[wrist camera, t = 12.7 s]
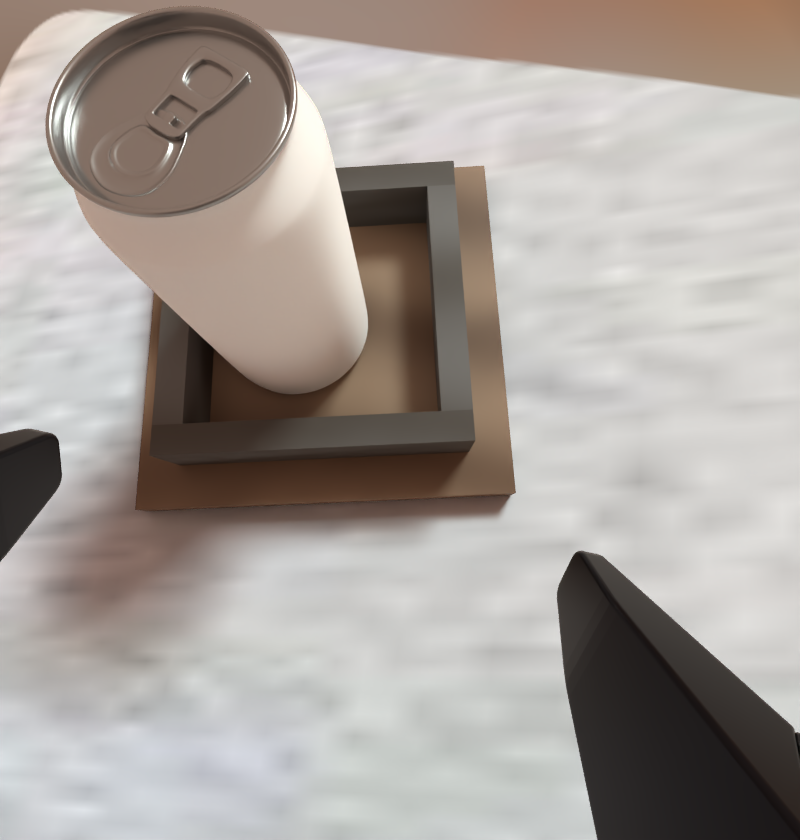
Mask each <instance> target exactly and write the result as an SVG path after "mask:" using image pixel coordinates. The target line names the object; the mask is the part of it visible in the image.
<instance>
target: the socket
mask: <svg viewBox="0 0 800 840" xmlns="http://www.w3.org/2000/svg"><path fill="white" fill-rule="evenodd" d="M335 169H336V174H337V178H338V182H339V186H340V191H341V195H342V200H343V204H344V208H345V213H346V217H347V222H348V226H349V230H350V235H351V239H352V244H353V248H354V253H355V257H356V262H357V266H358V271H359V275H360V280H361V284H362V289H363V294H364V298H365V303H366V309H367V315H368V332H367V337H366V341H365V344H364V347H363V350H362V352H361V354H360V356H359V357H358V359H357V361H356V362H355V363H354V365H353V366H352V367H351V368H350V369H349V370H348V371H347V372H346V373H345V374H344V375H343V376H342V377H341V378H339V379H338V380H337V381H335V382H334V383H332V384H330V385H328V386H326V387H324V388H322V389H319V390H316V391H313V392H309V393H303V394H282V393H277V392H273V391H270V390H268V389H265V388H263V387H261V386H259V385H257V384H255V383H253V382H252V381H250V380H249V379H247V378H246V377H245V376H244V375H242V374H241V373H240V372H239V371H238V370H237V369H236V368H235V367H233V366H232V365H231V364H230V363H229V362H228V361H227V360H226V359H225V358H224V357H223V356H222V355H220V354H219V353H218V352H217V351H216V350H215V349H214V348H213V347H212V346H211V345H210V344H209V343H208V342H207V341H205V340H204V339H203V338H202V337H201V336H200V335H199V334H198V333H197V332H196V331H195V330H194V329H193V328H192V327H191V326H190V325H188V324H187V323H186V322H185V321H184V320H183V319H182V318H181V317H180V316H179V315H178V314H177V313H176V312H175V311H174V310H173V309H172V308H170V307H169V306H168V305H167V304H166V303H165V302H164V301H163V300H162V299H161V298H160V297H159V296H158V295H157V294H156V293H155V292H154V300H153V312H152V323H151V335H150V346H149V358H148V369H147V381H146V392H145V404H144V415H143V427H142V438H141V450H140V461H139V473H138V484H137V496H136V507H135V510H143V511H160V510H183V509H206V508H228V507H251V506H273V505H296V504H319V503H341V502H364V501H387V500H409V499H432V498H455V497H477V496H500V495H512V494H514V493H516V491H515V481H514V470H513V460H512V450H511V439H510V429H509V419H508V408H507V398H506V388H505V377H504V367H503V356H502V346H501V336H500V325H499V315H498V305H497V294H496V284H495V274H494V263H493V253H492V242H491V232H490V222H489V211H488V201H487V191H486V180H485V170H484V166H473V167H456V168H454V162H453V161H443V162H427V163H411V164H395V165H378V166H362V167H346V168H335Z"/></svg>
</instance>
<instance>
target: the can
mask: <svg viewBox="0 0 800 840" xmlns="http://www.w3.org/2000/svg"><path fill="white" fill-rule="evenodd" d="M46 138H47V143H48V147H49V151H50V154H51V156H52V159H53V161H54V163H55V165H56V167H57V169H58V170H59V172H60V173H61V175H62V176H63V177H64V178H65V180H66V181H67V182H68V183H69V184H70V185H71V186H72V187H73V188H74V191H75V194H76V197H77V200H78V203H79V205H80V208H81V210H82V212H83V214H84V216H85V218H86V220H87V222H88V223H89V225H90V226H91V228H92V229H93V230H94V232H95V233H96V234H97V235H98V236H99V238H100V239H101V240H102V241H103V242H104V243H105V244H106V246H107V247H108V248H109V249H110V250H111V251H112V252H113V253H114V254H115V255H116V256H117V257H118V258H119V259H120V260H121V261H122V262H123V263H124V264H125V265H126V266H128V267H129V268H130V269H131V270H132V271H133V272H134V273H135V274H136V275H137V276H138V277H139V278H140V279H141V280H142V281H143V282H144V283H145V284H146V285H147V286H148V287H149V288H150V289H152V290H153V291H154V292H155V293H156V294H157V295H158V296H159V297H160V298H161V299H162V300H163V301H164V302H165V303H166V304H167V305H168V306H169V307H170V308H172V309H173V310H174V311H175V312H176V313H177V314H178V315H179V316H180V317H181V318H182V319H183V320H184V321H185V322H186V323H187V324H188V325H190V326H191V327H192V328H193V329H194V330H195V331H196V332H197V333H198V334H199V335H200V336H201V337H202V338H203V339H204V340H205V341H207V342H208V343H209V344H210V345H211V346H212V347H213V348H214V349H215V350H216V351H217V352H218V353H219V354H220V355H222V356H223V357H224V358H225V359H226V360H227V361H228V362H229V363H230V364H231V365H232V366H233V367H235V368H236V369H237V370H238V371H239V372H240V373H241V374H242V375H244V376H245V377H246V378H247V379H249V380H250V381H252V382H253V383H255V384H257V385H259V386H261V387H263V388H265V389H268V390H270V391H273V392H277V393H282V394H303V393H309V392H313V391H316V390H319V389H322V388H324V387H326V386H328V385H330V384H332V383H334V382H335V381H337V380H338V379H339V378H341V377H342V376H343V375H344V374H345V373H346V372H347V371H348V370H349V369H350V368H351V367H352V366H353V365H354V363H355V362H356V361H357V359H358V357H359V356H360V354H361V352H362V350H363V347H364V344H365V341H366V337H367V332H368V315H367V309H366V303H365V298H364V294H363V289H362V284H361V280H360V275H359V271H358V266H357V262H356V257H355V253H354V248H353V244H352V239H351V235H350V230H349V226H348V222H347V217H346V213H345V208H344V204H343V200H342V195H341V191H340V186H339V182H338V178H337V174H336V169H335V165H334V161H333V157H332V153H331V149H330V145H329V141H328V137H327V134H326V130H325V127H324V125H323V122H322V119H321V117H320V114H319V112H318V110H317V108H316V106H315V104H314V103H313V101H312V100H311V98H310V97H309V95H308V94H307V93H306V91H305V90H304V89H303V88H302V86H301V85H300V84H299V83H298V82H297V81H296V79H295V75H294V71H293V68H292V66H291V63H290V61H289V59H288V57H287V55H286V54H285V52H284V51H283V49H282V48H281V46H280V45H279V44H278V43H277V41H276V40H275V39H274V38H273V37H272V36H271V35H270V34H269V33H267V32H266V31H265V30H264V29H262V28H261V27H260V26H258V25H257V24H255V23H253V22H252V21H250V20H248V19H246V18H244V17H241V16H239V15H237V14H234V13H231V12H228V11H225V10H221V9H216V8H209V7H201V6H178V7H169V8H162V9H157V10H153V11H149V12H146V13H142V14H139V15H136V16H134V17H131V18H129V19H126V20H124V21H122V22H120V23H118V24H116V25H114V26H112V27H110V28H109V29H107V30H105V31H104V32H102V33H101V34H99V35H98V36H97V37H95V38H94V39H93V40H91V41H90V42H89V43H88V44H87V45H85V46H84V47H83V48H82V49H81V50H80V51H79V52H78V53H77V54H76V55H75V56H74V57H73V59H72V60H71V61H70V62H69V64H68V65H67V66H66V68H65V69H64V70H63V72H62V74H61V75H60V77H59V79H58V80H57V82H56V84H55V87H54V89H53V91H52V94H51V97H50V100H49V103H48V108H47V114H46Z"/></svg>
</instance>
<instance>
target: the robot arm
mask: <svg viewBox="0 0 800 840" xmlns="http://www.w3.org/2000/svg"><path fill="white" fill-rule="evenodd" d="M61 478H62V471H61V460H60V449H59V441H58V439H57V437H56V436H55V435H53V434H52V433H48V432H43V431H39V430H34V429H23V430H18V431H13V432H8V433H3V434H0V562H1V560H2V559H3V558H4V557H5V556H6V554H7V553H8V552H9V551H10V549H11V548H12V547H13V546H14V544H15V543H16V542H17V541H18V539H19V538H20V537H21V535H22V534H23V533H24V532H25V530H26V529H27V528H28V526H29V525H30V524H31V523H32V521H33V520H34V519H35V517H36V516H37V515H38V514H39V512H40V511H41V510H42V509H43V507H44V506H45V505H46V503H47V502H48V501H49V500H50V498H51V497H52V496H53V494H54V493H55V492H56V490H57V489H58V487H59V485H60V482H61ZM557 603H558V614H559V624H560V635H561V645H562V655H563V666H564V674H565V682H566V688H567V694H568V699H569V704H570V709H571V714H572V718H573V723H574V728H575V733H576V738H577V743H578V748H579V752H580V757H581V762H582V767H583V772H584V777H585V781H586V786H587V791H588V796H589V801H590V806H591V811H592V815H593V820H594V825H595V830H596V835H597V840H800V733H798V732H795V731H794V728H793V727H792V726H791V725H790V724H789V723H788V722H787V721H786V720H785V719H784V718H782V717H781V716H780V715H779V714H778V713H777V712H776V711H775V710H774V709H772V708H771V707H770V706H769V705H768V704H767V703H766V702H765V701H764V700H762V699H761V698H760V697H759V696H758V695H757V694H756V693H755V692H753V691H752V690H751V689H750V688H749V687H748V686H747V685H746V684H745V683H743V682H742V681H741V680H740V679H739V678H738V677H737V676H736V675H734V674H733V673H732V672H731V671H730V670H729V669H728V668H727V667H726V666H724V665H723V664H722V663H721V662H720V661H719V660H718V659H717V658H716V657H714V656H713V655H712V654H711V653H710V652H709V651H708V650H707V649H705V648H704V647H703V646H702V645H701V644H700V643H699V642H698V641H697V640H695V639H694V638H693V637H692V636H691V635H690V634H689V633H688V632H687V631H685V630H684V629H683V628H682V627H681V626H680V625H679V624H678V623H676V622H675V621H674V620H673V619H672V618H671V617H670V616H669V615H668V614H666V613H665V612H664V611H663V610H662V609H661V608H660V607H659V606H658V605H656V604H655V603H654V602H653V601H652V600H651V599H650V598H649V597H647V596H646V595H645V594H644V593H643V592H642V591H641V590H640V589H639V588H637V587H636V586H635V585H634V584H633V583H632V582H631V581H630V580H629V579H627V578H626V577H625V576H624V575H623V574H622V573H621V572H620V571H618V570H617V569H616V568H615V567H614V566H613V565H612V564H611V563H610V562H608V561H607V560H606V559H605V558H604V557H603V556H601V555H598V554H594V553H589V552H585V551H578V552H576V553H575V554H574V555H573V557H572V559H571V561H570V563H569V565H568V567H567V569H566V571H565V573H564V575H563V577H562V580H561V582H560V584H559V587H558V591H557Z"/></svg>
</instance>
